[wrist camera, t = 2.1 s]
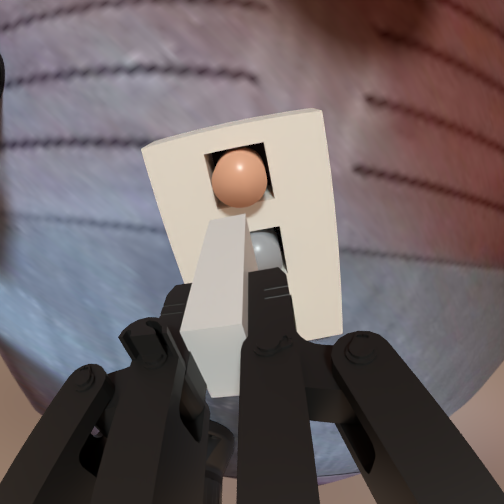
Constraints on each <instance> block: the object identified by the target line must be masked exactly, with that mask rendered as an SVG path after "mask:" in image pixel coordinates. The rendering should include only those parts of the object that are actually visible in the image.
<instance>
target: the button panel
mask: <svg viewBox="0 0 504 504" xmlns="http://www.w3.org/2000/svg"><path fill="white" fill-rule="evenodd" d="M261 142H263V144H264V149H265V154H266V159H267V164H268V169H269V174H270V180H271V185H267V187H266V190H265V193H264V194H263V196H262V197H261V199H260V200H258V201H257V202H256V203H255V204H253V205H251V206H248V207H243V208H236V207H231V206H228V205H226V204H224V203H223V202H222V201H220V200H219V199H218V197H217V196H216V195H215V193H214V191H213V188H212V175H213V172H214V169H215V165H214V161H213V157H212V153H213V152H217V151H222V150H226V149H231V148H236V147H241V146H246V145H251V144H256V143H261ZM141 151H142V154H143V158H144V161H145V165H146V168H147V172H148V175H149V178H150V182H151V185H152V188H153V191H154V195H155V198H156V201H157V204H158V207H159V211H160V214H161V217H162V220H163V223H164V226H165V229H166V232H167V235H168V238H169V241H170V244H171V247H172V250H173V252H174V255H175V258H176V261H177V264H178V267H179V269H180V272H181V275H182V278H183V281H184V283H185V284H187V283H192V282H193V278H194V274H195V271H196V267H197V263H198V260H199V256H200V252H201V249H202V245H203V242H204V238H205V235H206V231H207V228H208V224H209V221H210V220H214V219H220V218H225V217H230V216H235V215H240V214H245V213H246V218H247V222H248V227H249V231H250V232H251V231H256V230H261V229H267V228H272V227H278V226H279V229H280V234H281V240H282V245H283V251H284V252H281V257H282V269H281V270H282V271H283V272H284V273H285V274H286V276H287V281H288V287H289V293H290V295H291V299H292V305H293V306H292V310H293V316H294V322H295V327H296V330H297V332H298V334H299V335H300V336H301V337H302V338H304V339H305V340H306V341H308V340H313V339H318V338H323V337H329V336H334V335H338V334H343V330H342V301H341V281H340V264H339V250H338V237H337V226H336V215H335V205H334V196H333V187H332V178H331V170H330V162H329V155H328V148H327V141H326V134H325V127H324V121H323V115H322V110H318V109H314V108H308V109H301V110H294V111H287V112H281V113H275V114H269V115H264V116H258V117H253V118H248V119H243V120H238V121H233V122H228V123H224V124H219V125H215V126H210V127H206V128H202V129H198V130H194V131H190V132H186V133H182V134H178V135H175V136H171V137H167V138H164V139H160V140H157V141H154V142H152V143H151V144H149V145H147V146H145V147H144V148H142V149H141Z"/></svg>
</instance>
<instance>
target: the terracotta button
mask: <svg viewBox="0 0 504 504" xmlns="http://www.w3.org/2000/svg"><path fill="white" fill-rule="evenodd" d="M266 187H267V176H266V171H265V166H264V162H263V160H262V158H261V156H260V155H259V154H258V153H257V152H256V151H255V150H253V149H252V148H249V147H246V146H241V147H236V148H231V149H228V150H226V151H225V152H224V153H223V154H222V155H221V157H220V158H219V160H218V163H217V165H216V167H215V169H214V172H213V175H212V188H213V191H214V193H215V195H216V196H217V197H218V199H219V200H220V201H222V202H223V203H224V204H226V205H228V206H231V207H236V208H243V207H248V206H251V205H253V204H255V203H256V202H257V201H258V200H260V199H261V197H262V196H263V194H264V193H265V190H266Z"/></svg>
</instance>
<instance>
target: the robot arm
mask: <svg viewBox="0 0 504 504" xmlns="http://www.w3.org/2000/svg"><path fill="white" fill-rule="evenodd" d="M118 338H119V339H120V341H121V343H122V345H123V346H124V348H125V350H126V351H127V353H128V354H129V356H130V358H131V359H132V362H131V365H130V367H127V368H125V369H122V370H119V371H115V372H112V373H109V374H107V373H106V372H105V371H104V369H103V368H102V367H101V366H99V365H97V364H88V365H84V366H82V367H80V368H78V369H77V370H75V371H74V372H73V373H72V374H71V375H70V376H69V378H68V379H67V381H66V382H65V383H64V385H63V386H62V388H61V389H60V391H59V392H58V393H57V395H56V396H55V398H54V399H53V401H52V402H51V404H50V405H49V407H48V408H47V410H46V411H45V413H44V414H43V416H42V417H41V419H40V420H39V422H38V423H37V425H36V426H35V428H34V429H33V431H32V432H31V434H30V435H29V437H28V439H27V440H26V442H25V443H24V445H23V447H22V448H21V450H20V451H19V453H18V455H17V456H16V458H15V459H14V461H13V463H12V464H11V466H10V468H9V469H8V471H7V473H6V475H5V476H4V478H3V480H2V481H1V483H0V504H222V479H223V475H224V472H225V470H226V468H227V465H228V463H229V461H230V459H231V456H232V454H233V451H234V436H233V434H232V433H231V432H230V431H229V430H228V429H227V428H225V427H224V426H222V425H220V424H218V423H216V422H213V421H210V410H209V406H208V405H207V403H206V401H205V397H206V388H207V389H208V391H209V393H210V395H211V397H212V398H217V397H228V396H239V426H238V463H237V504H320V500H319V492H318V483H317V475H316V467H315V459H314V451H313V443H312V436H311V428H310V421H309V420H311V421H320V422H330V423H335V425H336V427H337V429H338V431H339V432H340V434H341V436H342V438H343V440H344V442H345V444H346V446H347V448H348V450H349V451H350V453H351V455H352V457H353V459H354V461H355V463H356V465H357V467H358V469H359V470H360V472H361V474H362V476H363V478H364V480H365V482H366V484H367V486H368V487H369V489H370V491H371V493H372V495H373V497H374V499H375V501H376V502H377V504H504V493H503V491H502V490H501V488H500V487H499V485H498V484H497V482H496V481H495V480H494V478H493V477H492V475H491V474H490V473H489V471H488V470H487V468H486V467H485V466H484V464H483V463H482V461H481V460H480V459H479V457H478V456H477V455H476V453H475V452H474V450H473V449H472V448H471V446H470V445H469V444H468V443H467V441H466V440H465V438H464V437H463V436H462V434H460V432H459V430H458V429H457V428H456V427H455V425H454V424H453V423H452V421H451V420H450V419H449V417H448V416H447V415H446V413H445V412H444V411H443V410H442V408H441V407H440V406H439V404H438V403H437V402H436V401H435V399H434V398H433V397H432V396H431V394H430V393H429V392H428V390H427V389H426V388H425V387H424V385H423V384H422V383H421V382H420V380H419V379H418V378H417V377H416V375H415V374H414V373H413V372H412V371H411V369H410V368H409V367H408V366H407V364H406V363H405V362H404V361H403V359H402V358H401V357H400V356H399V355H398V353H397V352H396V351H395V350H394V349H393V347H392V346H391V345H390V344H389V343H388V341H387V340H385V339H384V338H383V337H382V336H380V335H379V334H376V333H373V332H370V331H356V332H352V333H348V334H346V335H344V336H343V337H341V338H339V339H338V340H337V342H336V343H335V344H334V345H321V344H314V343H311V342H309V341H306V340H305V339H304V338H302V337H301V336H300V335H299V334H298V332H297V330H296V327H295V322H294V316H293V310H292V304H291V299H290V293H289V287H288V281H287V276H286V274H285V273H284V272H283V271H282V270H281V269H280V268H279V267H275V268H270V269H264V270H258V267H257V262H256V258H255V253H254V249H253V245H252V240H251V236H250V231H249V227H248V222H247V218H246V213H245V214H240V215H235V216H230V217H225V218H220V219H214V220H210V221H209V224H208V228H207V231H206V235H205V238H204V242H203V245H202V249H201V252H200V256H199V260H198V263H197V267H196V271H195V274H194V278H193V282H192V283H187V284H181V285H176V286H175V287H174V288H173V289H172V290H171V291H170V292H169V294H168V295H167V297H166V300H165V303H164V307H163V308H162V311H161V316H160V317H159V318H156V317H148V318H144V319H140V320H137V321H135V322H133V323H131V324H130V325H129V326H127V327H126V328H125V329H124V330H123V331H122V332H121V334H120V335H119V337H118ZM94 426H95V427H96V428H97V429H98V430H99V431H100V432H99V433H98V434H97V435H94V436H93V435H92V434H91V431H92V429H93V428H94Z"/></svg>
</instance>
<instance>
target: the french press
mask: <svg viewBox="0 0 504 504" xmlns="http://www.w3.org/2000/svg"><path fill="white" fill-rule="evenodd" d="M3 84H4V63H3V59H2V57H1V55H0V97H1V93H2V90H3Z"/></svg>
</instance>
